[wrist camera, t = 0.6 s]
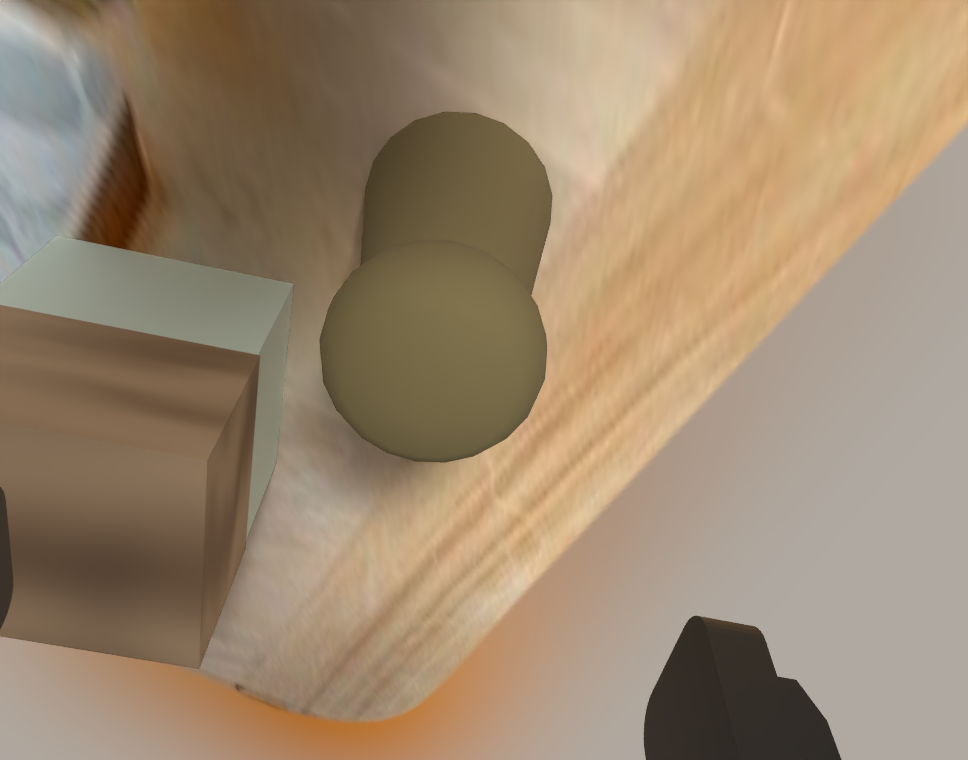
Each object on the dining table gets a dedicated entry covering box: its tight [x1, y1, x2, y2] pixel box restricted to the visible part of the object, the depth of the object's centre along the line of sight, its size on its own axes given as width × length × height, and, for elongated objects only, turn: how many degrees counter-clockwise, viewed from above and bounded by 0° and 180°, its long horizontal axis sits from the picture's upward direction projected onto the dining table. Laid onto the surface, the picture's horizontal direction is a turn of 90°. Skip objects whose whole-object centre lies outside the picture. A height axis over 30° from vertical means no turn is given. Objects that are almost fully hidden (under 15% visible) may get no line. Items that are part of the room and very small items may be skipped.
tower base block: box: [0, 236, 294, 539], centre depth 29 cm, size 8×8×5 cm
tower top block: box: [0, 305, 260, 669], centre depth 25 cm, size 8×8×5 cm
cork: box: [320, 112, 552, 462], centre depth 23 cm, size 6×6×11 cm
